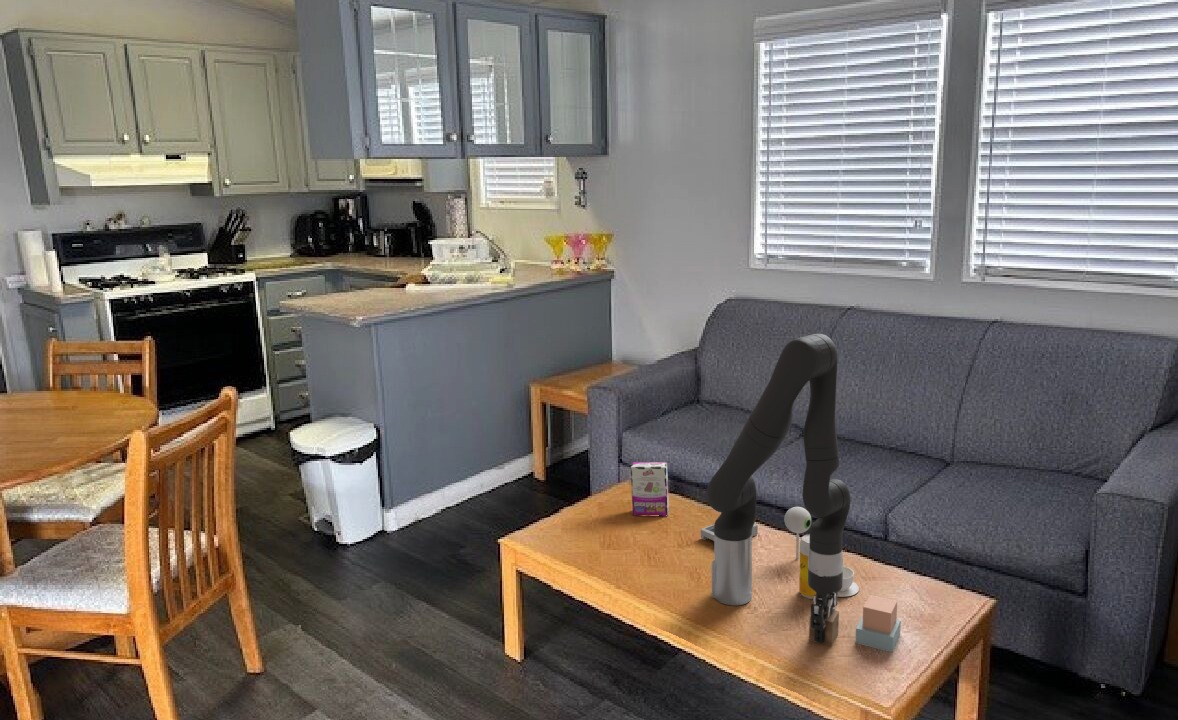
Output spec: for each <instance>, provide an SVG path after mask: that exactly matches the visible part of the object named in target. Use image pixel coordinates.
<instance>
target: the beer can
mask: <svg viewBox="0 0 1178 720" xmlns="http://www.w3.org/2000/svg"><path fill="white" fill-rule="evenodd" d="M809 548H810V533H809V534H805V535H802V536H801V539H800V540H799V576H798V577H799V583H798V585H799V586H798V587H799V588H798V589H799V592H800V593H801V595H802V597H804V598H805V599H809V600H814V595H815V594H816V592H815V591H814V590H813V589H811V588H810V587H809V585H808V555H809Z"/></svg>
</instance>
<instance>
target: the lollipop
mask: <svg viewBox="0 0 1178 720" xmlns="http://www.w3.org/2000/svg"><path fill="white" fill-rule="evenodd" d="M783 519H784V525H785V526H786V528H787V529H788V530H789V531H790V532H792V533H794V534H796V536H795V537H796V544H795V545H796V546H795V549H796V550H795V559H796V560H800V534H803V533H806V532H807V531H809V530H810V527H811V525H812V515H811V514H810V513H809V512H808V511H807V509H806V508H804V507H803V506H794V507H790V508H789V509H788V510H787V511H786V512H785V515H784V518H783Z"/></svg>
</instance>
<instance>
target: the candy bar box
mask: <svg viewBox="0 0 1178 720" xmlns="http://www.w3.org/2000/svg"><path fill="white" fill-rule="evenodd" d="M668 477H669V476H668V462H665V461H662V462H656V461H655V462H654V461H653V462H647V461H645V462H643V461H641V462H640V461H635V462H634V461H633V462H632V464H631V466H630V479H631V480H630V482H631V483H630V484H631V504H632V516H633V515H659V516H658V517H664V516H666V515H667V517H668V516H669V512H670V511H669V510H670V506H669V502H670V501H669V479H668ZM668 511H669V512H668Z"/></svg>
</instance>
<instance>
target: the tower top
mask: <svg viewBox="0 0 1178 720" xmlns="http://www.w3.org/2000/svg"><path fill="white" fill-rule="evenodd" d="M897 614H898V600H894V599H891V598H885V597H881V596H876V595H872V594H869V596H868V597H867V599H866V601H865V603H864V605H863V606H862V616H863V627H865V628H869V629H873V630H877V631H881V632H885V633H889V634H890V633H891V631H892V629H893V627H894V625H895V623H896V621H897V619H898V618H897V617H898V615H897Z"/></svg>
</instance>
